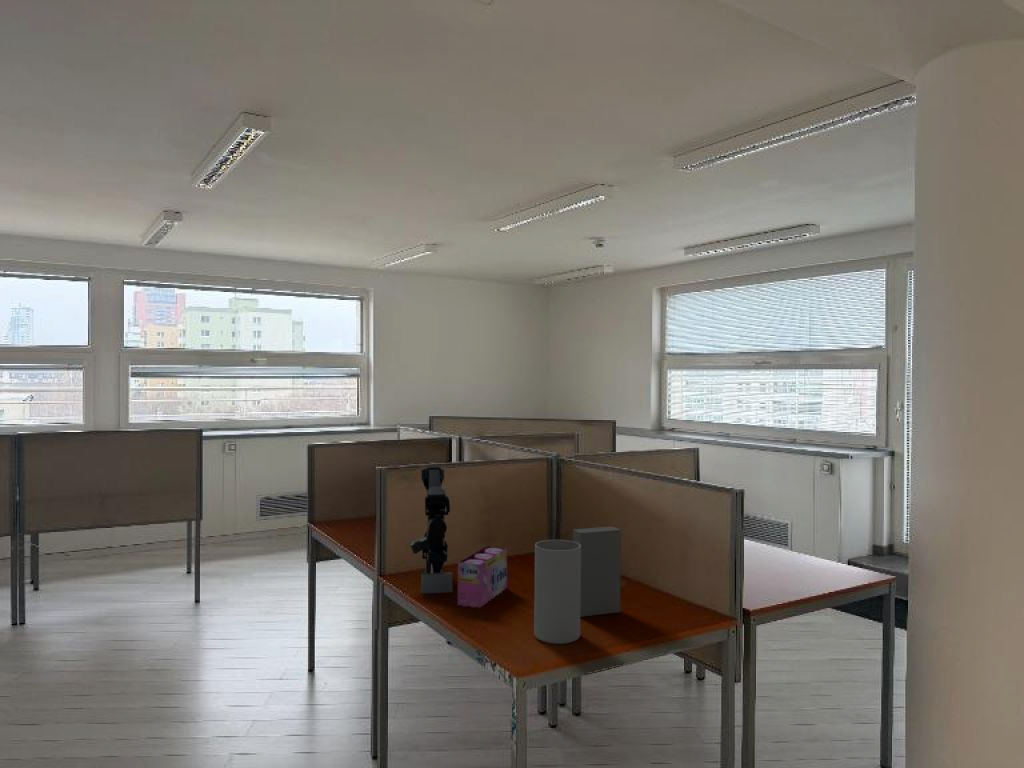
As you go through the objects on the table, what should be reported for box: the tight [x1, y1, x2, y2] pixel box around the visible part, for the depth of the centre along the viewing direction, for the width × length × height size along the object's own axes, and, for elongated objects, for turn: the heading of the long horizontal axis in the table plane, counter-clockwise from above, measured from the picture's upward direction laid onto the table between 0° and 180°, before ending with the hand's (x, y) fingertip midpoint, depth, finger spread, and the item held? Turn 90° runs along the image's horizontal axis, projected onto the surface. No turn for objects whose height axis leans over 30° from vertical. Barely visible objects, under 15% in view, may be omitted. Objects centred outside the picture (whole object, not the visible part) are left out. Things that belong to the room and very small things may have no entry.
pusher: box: [420, 564, 454, 594], centre depth 237 cm, size 10×10×7 cm
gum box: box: [457, 545, 508, 609], centre depth 230 cm, size 24×8×14 cm, turn 158°
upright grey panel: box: [572, 526, 622, 618], centre depth 215 cm, size 14×6×25 cm, turn 111°
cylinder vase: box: [533, 539, 581, 645], centre depth 194 cm, size 12×12×25 cm
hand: (435, 576), depth 241 cm, fingers closed on pusher, 3 cm apart
